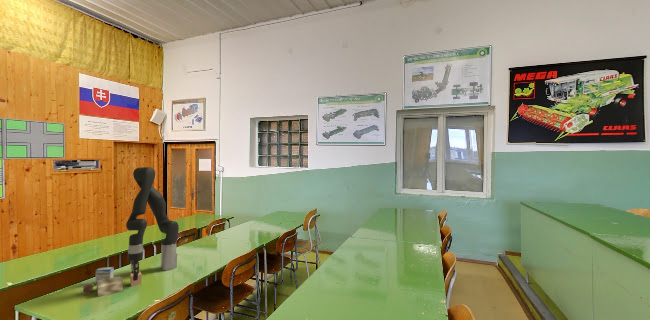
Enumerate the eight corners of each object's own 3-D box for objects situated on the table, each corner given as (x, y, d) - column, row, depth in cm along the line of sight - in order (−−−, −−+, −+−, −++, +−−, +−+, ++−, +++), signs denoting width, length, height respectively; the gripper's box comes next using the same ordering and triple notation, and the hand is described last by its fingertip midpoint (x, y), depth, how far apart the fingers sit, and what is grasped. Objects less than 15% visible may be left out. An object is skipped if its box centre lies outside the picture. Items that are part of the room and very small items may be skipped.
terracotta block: (139, 281, 169) (140, 271, 169) (141, 284, 165) (141, 274, 165) (130, 283, 166) (130, 273, 166) (131, 286, 162) (131, 276, 162)
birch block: (120, 283, 165) (120, 275, 165) (122, 290, 157) (123, 281, 157) (96, 289, 157) (97, 280, 157) (98, 296, 149) (98, 287, 149)
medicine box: (94, 284, 163) (95, 270, 163) (98, 281, 167) (99, 267, 167) (110, 283, 165) (110, 269, 165) (113, 280, 169) (114, 266, 169)
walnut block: (92, 290, 156) (92, 283, 156) (92, 293, 153) (92, 285, 153) (83, 292, 154) (83, 285, 154) (83, 295, 151) (83, 288, 151)
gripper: (144, 253, 163) (143, 280, 162) (141, 247, 173) (139, 272, 173) (129, 255, 158) (128, 283, 157) (126, 249, 168) (125, 275, 168)
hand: (134, 277), depth 165 cm, fingers open, 8 cm apart
